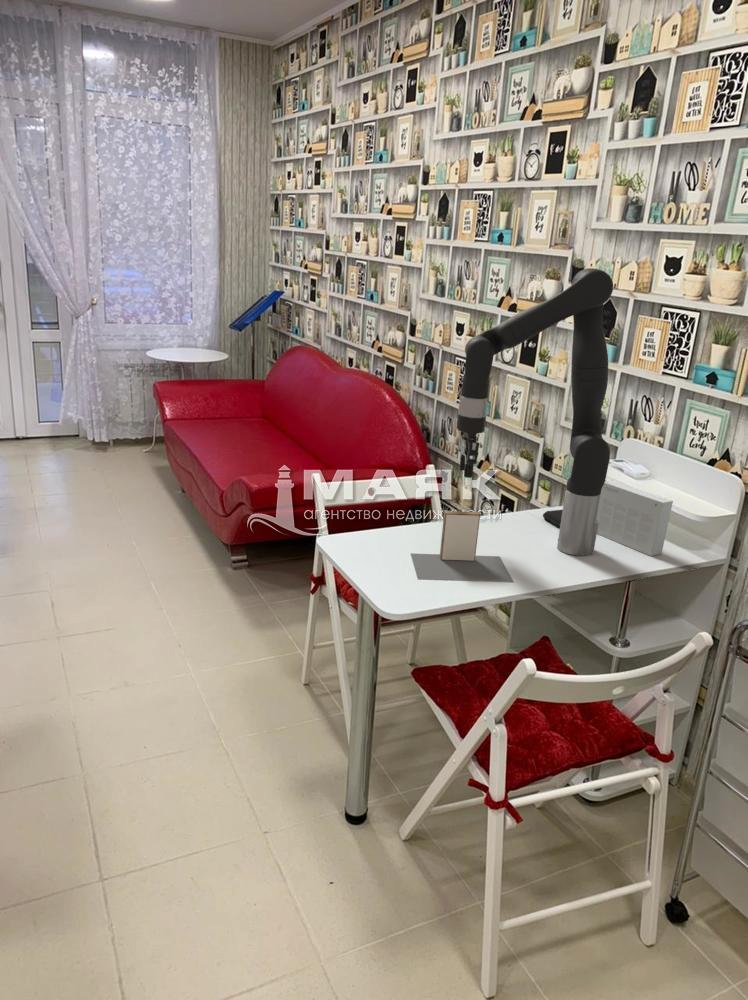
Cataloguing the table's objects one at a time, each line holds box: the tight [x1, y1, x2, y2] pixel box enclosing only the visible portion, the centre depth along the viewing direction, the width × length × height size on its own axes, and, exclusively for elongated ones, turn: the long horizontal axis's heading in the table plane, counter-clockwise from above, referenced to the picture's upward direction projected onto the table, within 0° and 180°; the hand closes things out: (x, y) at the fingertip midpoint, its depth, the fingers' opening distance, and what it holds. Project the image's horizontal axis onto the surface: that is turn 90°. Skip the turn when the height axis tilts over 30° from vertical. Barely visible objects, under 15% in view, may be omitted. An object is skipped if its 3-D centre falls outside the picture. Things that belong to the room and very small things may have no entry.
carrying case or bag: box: [542, 509, 563, 529], centre depth 229 cm, size 11×3×15 cm
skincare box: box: [596, 480, 674, 557], centre depth 216 cm, size 21×6×16 cm, turn 35°
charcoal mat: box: [410, 552, 515, 583], centre depth 192 cm, size 24×16×1 cm, turn 94°
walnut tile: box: [439, 510, 481, 561], centre depth 195 cm, size 9×2×13 cm, turn 94°
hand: (465, 473), depth 205 cm, fingers open, 6 cm apart
